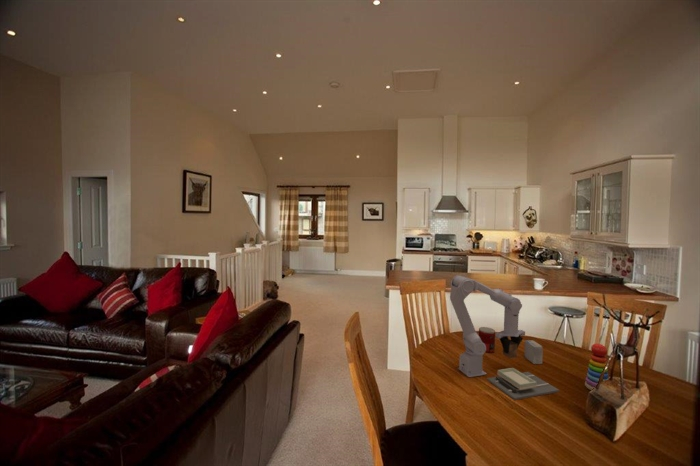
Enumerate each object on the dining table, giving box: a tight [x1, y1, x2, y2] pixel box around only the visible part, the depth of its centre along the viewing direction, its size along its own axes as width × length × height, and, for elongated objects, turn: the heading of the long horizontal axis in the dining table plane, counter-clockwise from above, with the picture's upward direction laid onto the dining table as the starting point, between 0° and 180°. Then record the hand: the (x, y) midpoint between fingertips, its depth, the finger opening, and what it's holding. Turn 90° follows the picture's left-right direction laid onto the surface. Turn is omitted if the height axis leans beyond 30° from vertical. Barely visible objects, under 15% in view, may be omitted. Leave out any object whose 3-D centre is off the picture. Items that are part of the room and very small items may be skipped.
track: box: [486, 371, 560, 401], centre depth 126 cm, size 22×15×2 cm
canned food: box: [478, 326, 496, 354], centre depth 160 cm, size 8×8×11 cm
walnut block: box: [502, 341, 518, 359], centre depth 138 cm, size 4×4×6 cm
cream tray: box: [496, 367, 537, 390], centre depth 125 cm, size 8×12×3 cm, turn 16°
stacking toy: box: [584, 343, 610, 391], centre depth 123 cm, size 8×8×19 cm
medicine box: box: [524, 339, 544, 365], centre depth 149 cm, size 8×4×9 cm, turn 179°
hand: (509, 351), depth 138 cm, fingers closed on walnut block, 4 cm apart
